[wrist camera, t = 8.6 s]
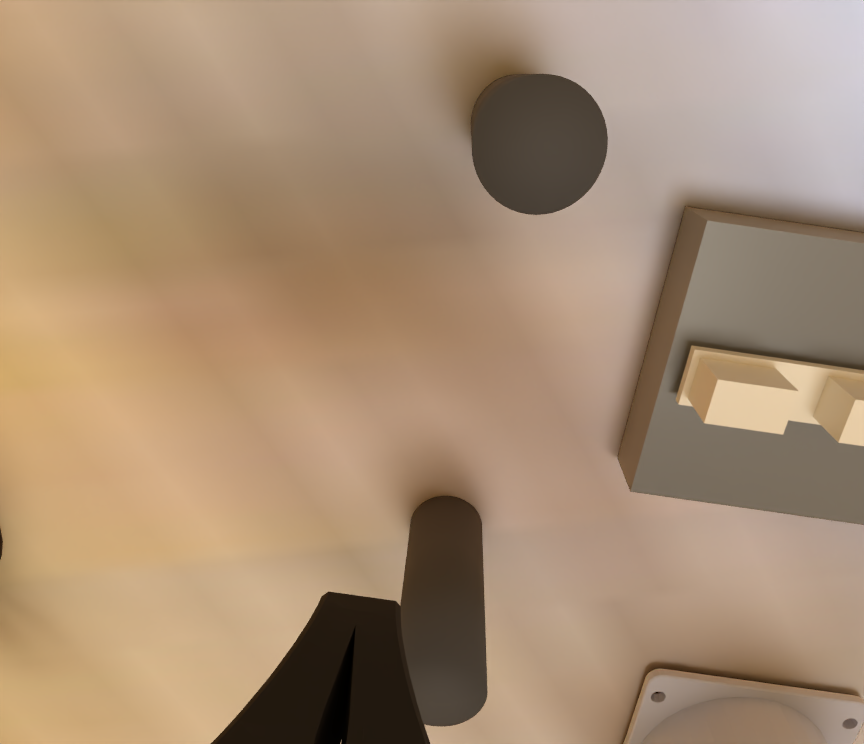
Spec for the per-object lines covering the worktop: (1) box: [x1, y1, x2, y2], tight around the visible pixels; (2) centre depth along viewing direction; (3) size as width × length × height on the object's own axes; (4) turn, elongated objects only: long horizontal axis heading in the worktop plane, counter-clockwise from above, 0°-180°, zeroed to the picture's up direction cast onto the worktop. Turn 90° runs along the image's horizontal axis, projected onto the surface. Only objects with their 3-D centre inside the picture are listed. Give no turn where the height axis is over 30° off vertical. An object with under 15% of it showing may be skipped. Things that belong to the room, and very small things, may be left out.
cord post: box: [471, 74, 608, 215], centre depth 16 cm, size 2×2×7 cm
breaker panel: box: [618, 206, 864, 525], centre depth 21 cm, size 8×10×2 cm
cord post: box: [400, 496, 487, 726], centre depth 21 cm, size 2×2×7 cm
